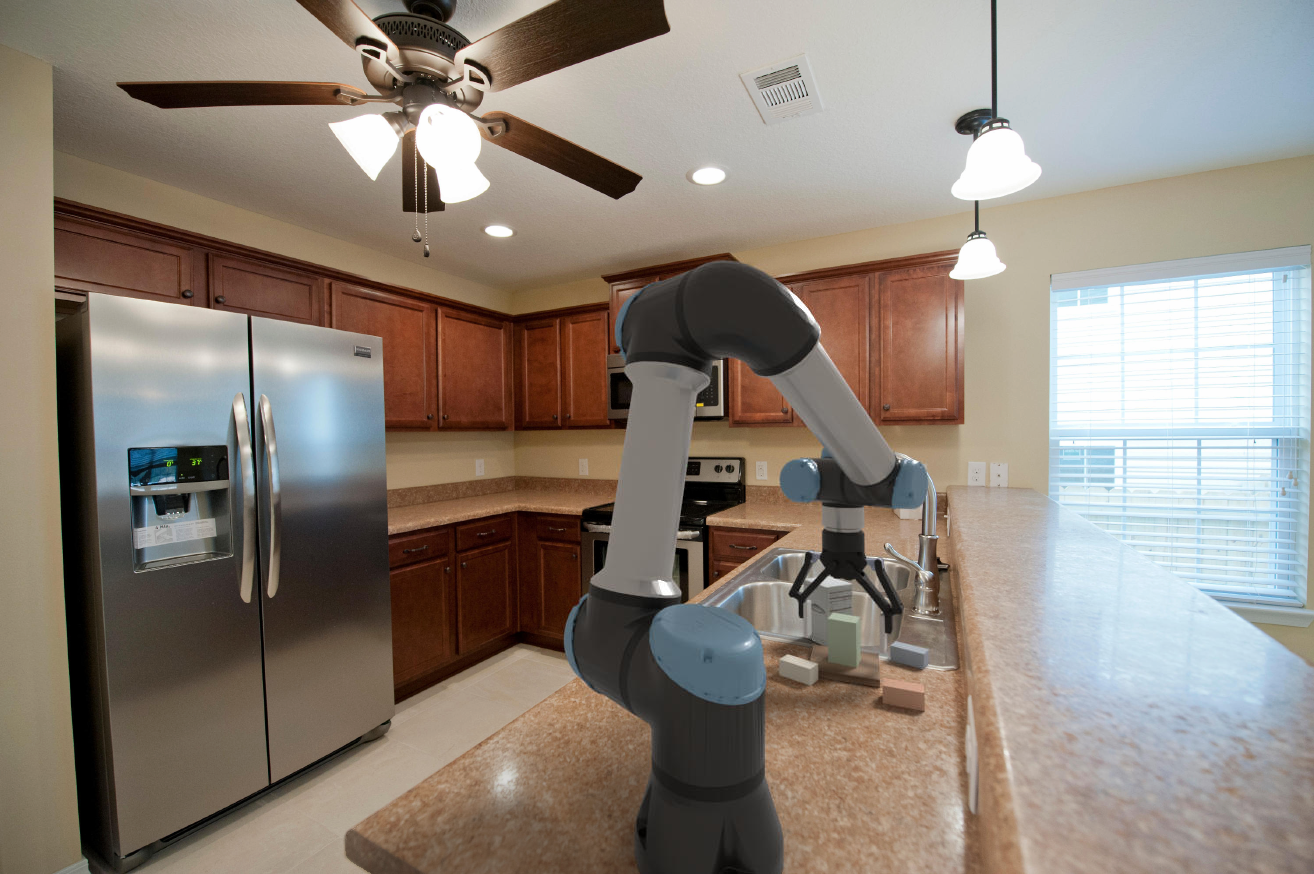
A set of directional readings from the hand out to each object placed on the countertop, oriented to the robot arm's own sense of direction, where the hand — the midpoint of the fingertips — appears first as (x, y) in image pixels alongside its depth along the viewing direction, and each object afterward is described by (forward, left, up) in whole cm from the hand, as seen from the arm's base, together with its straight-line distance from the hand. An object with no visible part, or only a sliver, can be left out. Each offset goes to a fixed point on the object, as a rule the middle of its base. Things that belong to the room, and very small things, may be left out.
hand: (844, 642), depth 95 cm
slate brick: (+9, -10, -5) cm, 14 cm away
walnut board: (0, 0, -4) cm, 4 cm away
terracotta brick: (-8, -11, -5) cm, 15 cm away
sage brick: (0, 0, -3) cm, 3 cm away
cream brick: (-8, +6, -5) cm, 11 cm away
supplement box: (+12, +6, -5) cm, 14 cm away
